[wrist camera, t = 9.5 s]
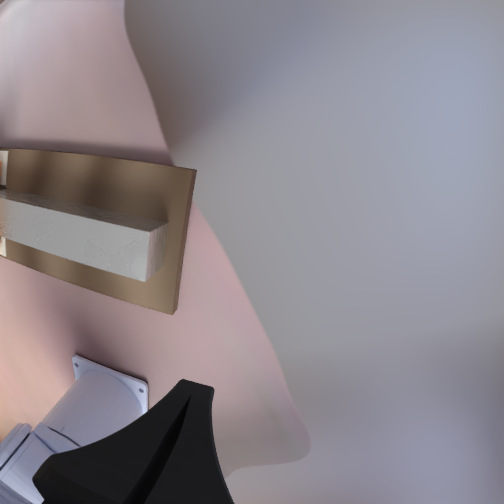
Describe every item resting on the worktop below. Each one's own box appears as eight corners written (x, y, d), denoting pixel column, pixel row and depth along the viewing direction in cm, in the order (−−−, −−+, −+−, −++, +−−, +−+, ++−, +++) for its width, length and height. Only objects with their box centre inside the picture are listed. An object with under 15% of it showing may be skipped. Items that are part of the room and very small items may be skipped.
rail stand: (196, 169, 19) (175, 171, 15) (176, 309, 22) (156, 336, 18) (-27, 146, 21) (-55, 149, 17) (-29, 238, 23) (-54, 247, 20)
